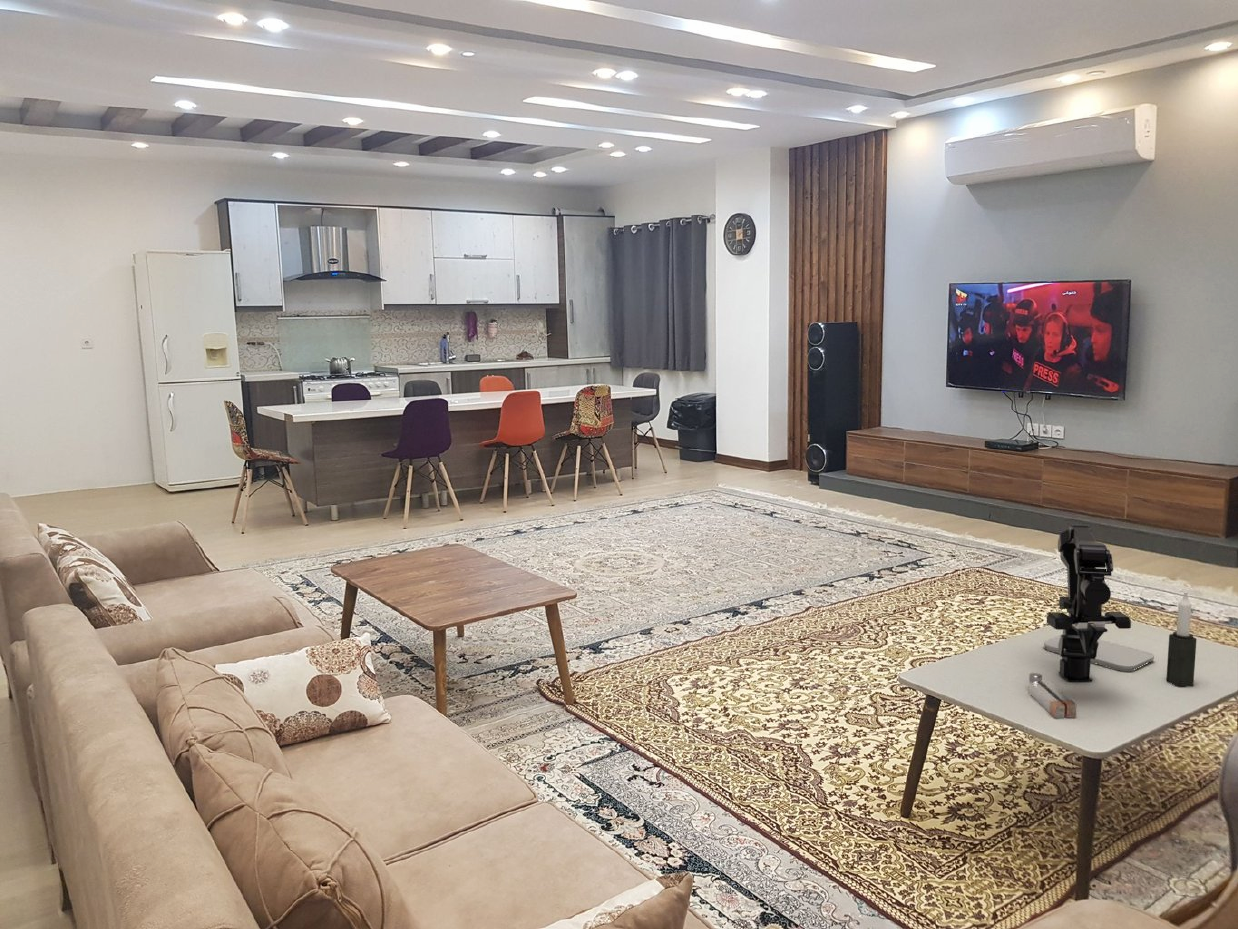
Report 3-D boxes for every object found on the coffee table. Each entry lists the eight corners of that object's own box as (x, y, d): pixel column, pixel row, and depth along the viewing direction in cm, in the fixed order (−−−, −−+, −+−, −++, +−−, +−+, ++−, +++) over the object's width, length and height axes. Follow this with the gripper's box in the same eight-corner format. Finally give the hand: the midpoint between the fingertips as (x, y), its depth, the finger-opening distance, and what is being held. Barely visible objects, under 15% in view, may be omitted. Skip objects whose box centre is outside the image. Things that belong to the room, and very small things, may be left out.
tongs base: (1022, 687, 249) (1023, 673, 249) (1038, 687, 249) (1039, 672, 249) (1054, 718, 230) (1055, 702, 229) (1071, 718, 230) (1072, 702, 229)
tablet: (1128, 676, 257) (1129, 668, 256) (1039, 650, 278) (1039, 643, 277) (1158, 662, 266) (1158, 654, 266) (1069, 638, 287) (1069, 631, 287)
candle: (1164, 680, 252) (1170, 589, 248) (1182, 679, 252) (1188, 588, 249) (1176, 687, 247) (1183, 594, 243) (1195, 686, 247) (1201, 593, 244)
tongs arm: (1039, 692, 246) (1040, 680, 245) (1048, 691, 246) (1048, 680, 245) (1066, 717, 230) (1067, 705, 229) (1076, 717, 230) (1076, 704, 229)
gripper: (1111, 584, 245) (1108, 642, 247) (1038, 585, 246) (1036, 643, 248) (1133, 596, 234) (1130, 656, 236) (1057, 597, 235) (1054, 658, 237)
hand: (1086, 653), depth 240 cm, fingers closed
